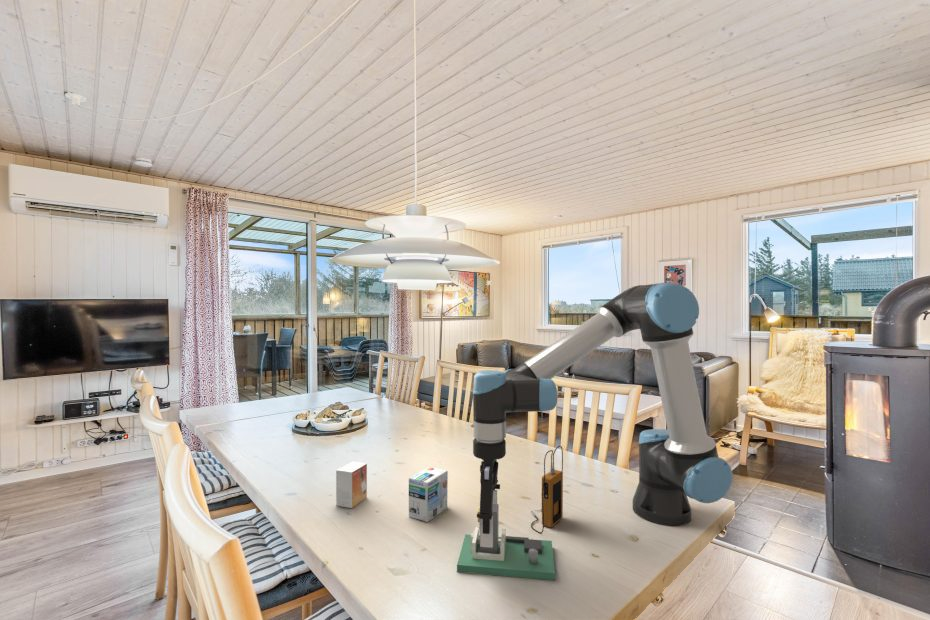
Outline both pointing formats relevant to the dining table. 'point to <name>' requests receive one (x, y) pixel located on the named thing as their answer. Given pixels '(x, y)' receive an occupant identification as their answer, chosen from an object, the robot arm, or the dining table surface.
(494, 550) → the plug
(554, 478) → the multimeter
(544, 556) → the board
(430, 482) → the light bulb box
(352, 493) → the small box
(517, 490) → the dining table surface
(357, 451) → the dining table surface
